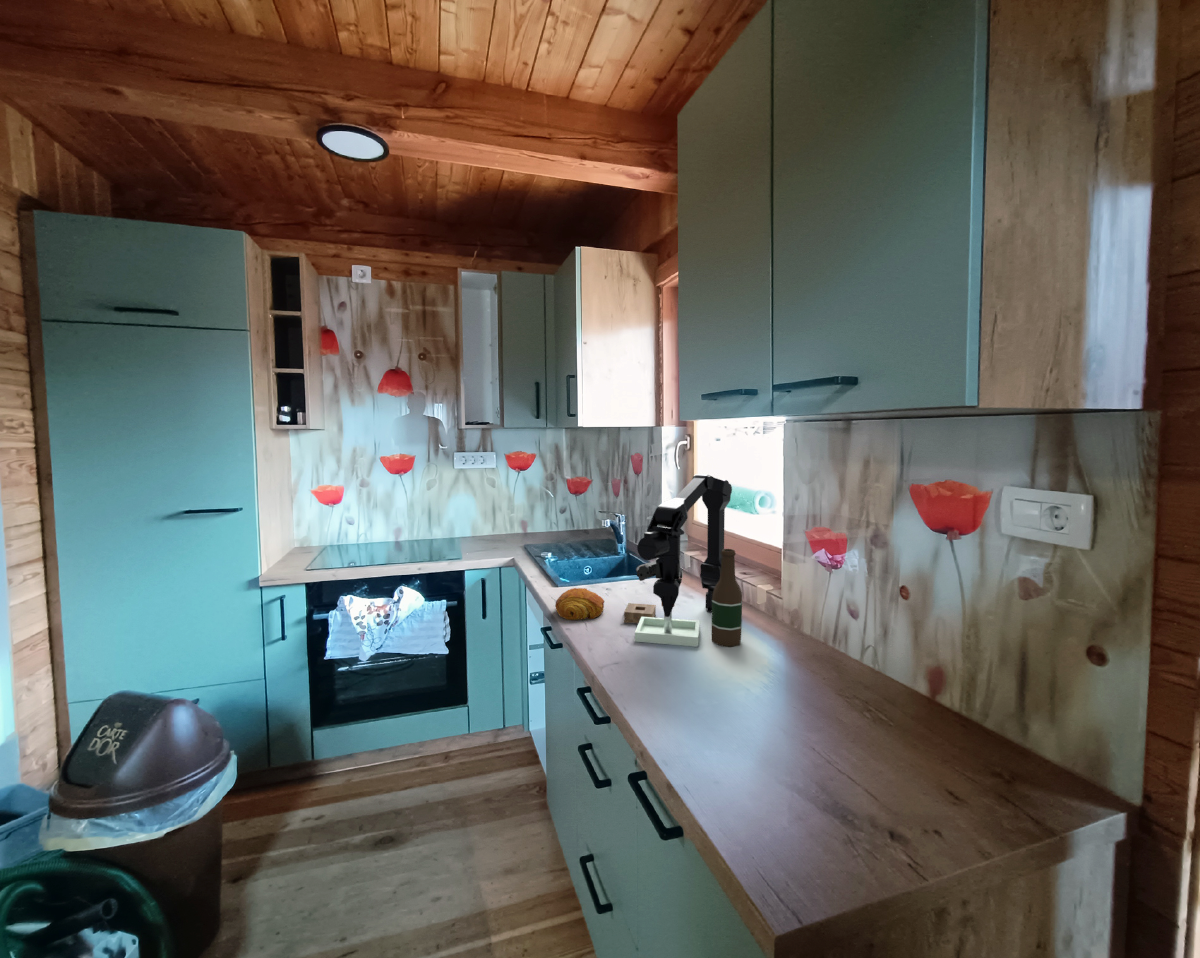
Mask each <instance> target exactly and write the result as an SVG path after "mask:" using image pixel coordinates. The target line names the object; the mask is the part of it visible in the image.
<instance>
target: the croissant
mask: <svg viewBox="0 0 1200 958" xmlns="http://www.w3.org/2000/svg"><path fill="white" fill-rule="evenodd" d="M604 604H605V600H604V598H603V597H601V595H598V594H597V593H596V592H593V591H591V590H588V589H587V588H581V587H580V588H579V587H578V588H577V587H573V588H570V589H568V590H566V591H565V592H563V593H561V595H559V597H557V599H556V601H555V605H554V607H555V610H556V611H557V613H558V616H560V617H561V618H563V619H565V620H570V621H574V620H575V621H576V620H578V621H579V620H586V619H588V620H590V619H591V620H593V619H595V618H597V617H599V616H600V615H602V613H603V611H604V608H605V605H604Z"/></svg>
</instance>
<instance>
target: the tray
mask: <svg viewBox="0 0 1200 958" xmlns="http://www.w3.org/2000/svg"><path fill="white" fill-rule="evenodd" d="M700 622H701V621H700V620H693V619H691V620H690V619H681V618H678V619H676V618H672V634H667V633H664V617H655V618H654V617H641V619H640V621H639V623H637V627H636V629H635V631H634V642H637V643H648V644H649V643H650V644H660V645H661V644H662V645H673V646H684V647H685V646H686V647H697V648H698V647H699V641H700V640H699V638H700Z"/></svg>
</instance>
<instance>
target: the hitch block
mask: <svg viewBox="0 0 1200 958" xmlns="http://www.w3.org/2000/svg"><path fill="white" fill-rule="evenodd" d="M656 607H657V606H656V604H645V603H630V602H629V603H628V604H627V606H626V608H625V610H624V613H623V622H624V623H627V624H628V623H629V624H638V623H639V621H640V619H641V617H654V618H656V615H657V614H656V612H657V611H656Z"/></svg>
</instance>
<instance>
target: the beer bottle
mask: <svg viewBox="0 0 1200 958" xmlns="http://www.w3.org/2000/svg"><path fill="white" fill-rule="evenodd" d="M721 555H722V562H721V574H720V579H719V582H718V583H717V584H716V586H715V589H714V591H713V596H712V612H711V633H710V634H711V642H712V643H713V644H716V645H717V646H721V647H727V648H732V647H737V646H740V644H741V640H742V628H743V626H742V622H743V619H742V618H743V592H742V588H741V587H740V584H739V583H738V582H737V578H736V565H735V563H736V561H735V556H736V550H735V549H731V548H724V549H723V550H722V552H721Z"/></svg>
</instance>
